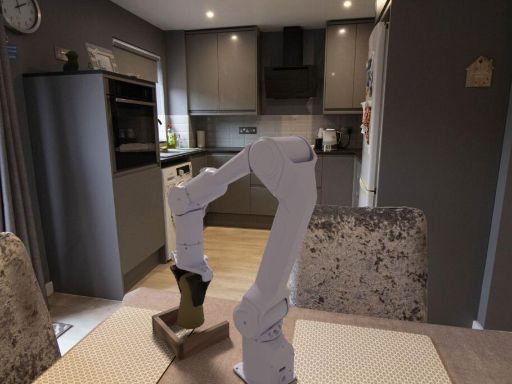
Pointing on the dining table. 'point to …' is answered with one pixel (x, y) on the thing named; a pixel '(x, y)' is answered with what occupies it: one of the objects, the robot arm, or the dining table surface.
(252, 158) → the robot arm
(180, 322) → the olive pawn shape
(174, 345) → the open u-shaped frame
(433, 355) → the dining table surface
